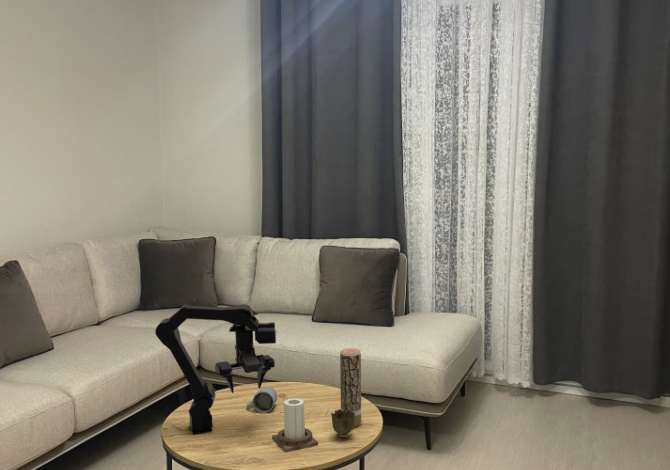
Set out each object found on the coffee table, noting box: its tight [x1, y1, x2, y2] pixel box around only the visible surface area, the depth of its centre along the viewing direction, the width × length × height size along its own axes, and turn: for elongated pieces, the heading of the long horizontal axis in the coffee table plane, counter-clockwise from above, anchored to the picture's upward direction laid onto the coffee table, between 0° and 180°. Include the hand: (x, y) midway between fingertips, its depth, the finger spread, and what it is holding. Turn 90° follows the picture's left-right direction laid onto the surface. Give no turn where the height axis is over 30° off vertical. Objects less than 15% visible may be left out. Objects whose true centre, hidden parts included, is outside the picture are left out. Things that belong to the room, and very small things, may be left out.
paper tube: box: [339, 348, 362, 428], centre depth 224 cm, size 7×7×25 cm
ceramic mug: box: [246, 386, 278, 414], centre depth 240 cm, size 11×8×8 cm
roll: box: [283, 398, 306, 440], centre depth 212 cm, size 6×6×12 cm
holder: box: [271, 428, 319, 453], centre depth 212 cm, size 11×11×3 cm
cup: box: [330, 408, 355, 440], centre depth 215 cm, size 8×7×8 cm
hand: (245, 390), depth 222 cm, fingers open, 9 cm apart
